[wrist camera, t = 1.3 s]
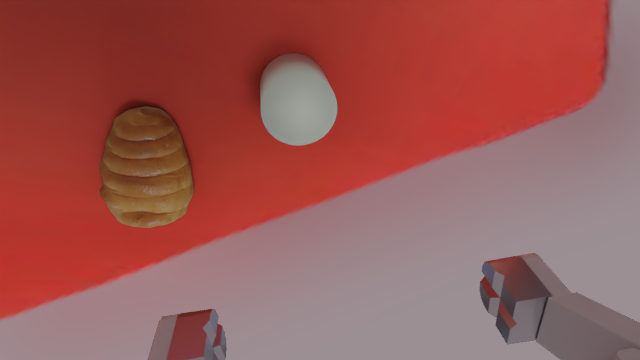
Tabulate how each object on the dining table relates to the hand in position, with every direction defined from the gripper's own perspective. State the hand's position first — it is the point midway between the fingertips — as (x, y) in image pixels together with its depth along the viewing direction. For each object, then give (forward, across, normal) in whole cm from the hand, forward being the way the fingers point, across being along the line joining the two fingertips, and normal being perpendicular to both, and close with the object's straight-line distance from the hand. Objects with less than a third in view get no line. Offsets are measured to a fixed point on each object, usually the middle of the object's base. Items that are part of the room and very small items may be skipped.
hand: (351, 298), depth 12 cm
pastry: (+21, +13, +5) cm, 25 cm away
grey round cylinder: (+21, +1, 0) cm, 21 cm away
